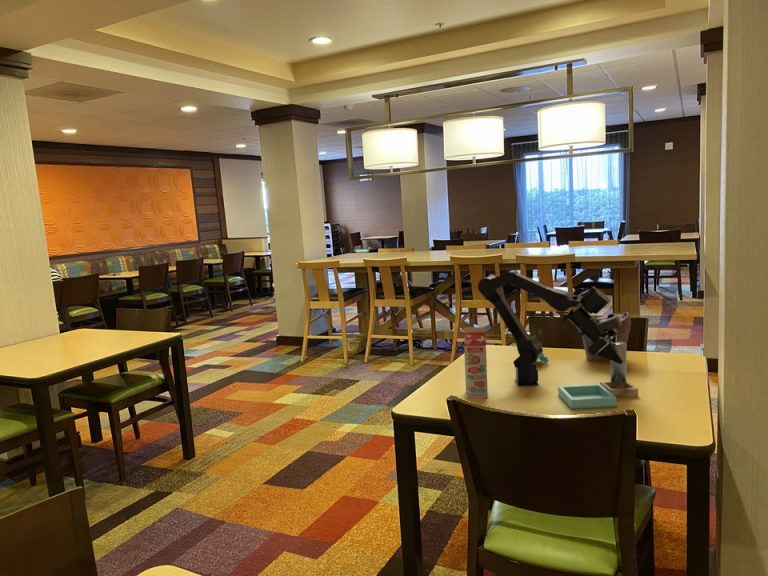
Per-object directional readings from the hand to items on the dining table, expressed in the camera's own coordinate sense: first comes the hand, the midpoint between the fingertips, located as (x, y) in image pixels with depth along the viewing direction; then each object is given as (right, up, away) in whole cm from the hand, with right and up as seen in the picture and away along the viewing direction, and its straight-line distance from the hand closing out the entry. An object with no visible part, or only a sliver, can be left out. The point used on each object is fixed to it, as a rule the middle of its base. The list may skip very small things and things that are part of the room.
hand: (623, 361), depth 181 cm
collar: (-1, -10, +2) cm, 10 cm away
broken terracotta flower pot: (+9, -5, +41) cm, 42 cm away
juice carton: (-44, -12, +8) cm, 46 cm away
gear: (-16, -6, +41) cm, 44 cm away
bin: (-13, -12, -4) cm, 18 cm away
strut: (-1, -7, +2) cm, 7 cm away
